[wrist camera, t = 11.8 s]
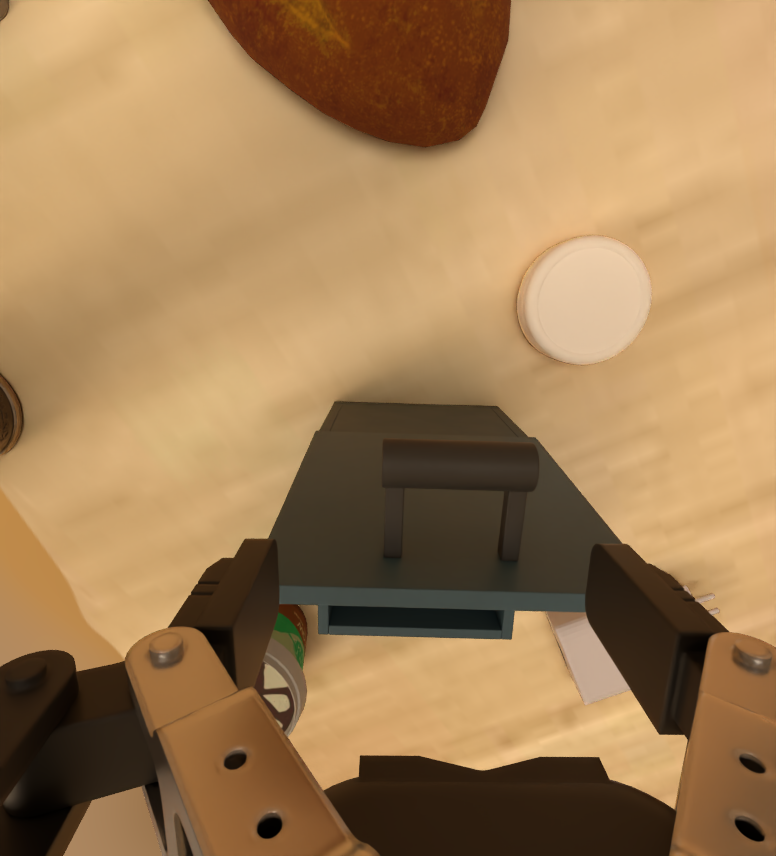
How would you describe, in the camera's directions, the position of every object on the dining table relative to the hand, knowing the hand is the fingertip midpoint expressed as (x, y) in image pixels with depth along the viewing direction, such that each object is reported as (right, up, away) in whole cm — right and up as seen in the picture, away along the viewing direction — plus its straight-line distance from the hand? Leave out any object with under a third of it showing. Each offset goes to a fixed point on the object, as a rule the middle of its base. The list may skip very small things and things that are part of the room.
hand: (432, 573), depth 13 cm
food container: (-11, -16, +38) cm, 42 cm away
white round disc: (+15, +14, +30) cm, 36 cm away
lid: (+1, 0, +13) cm, 13 cm away
